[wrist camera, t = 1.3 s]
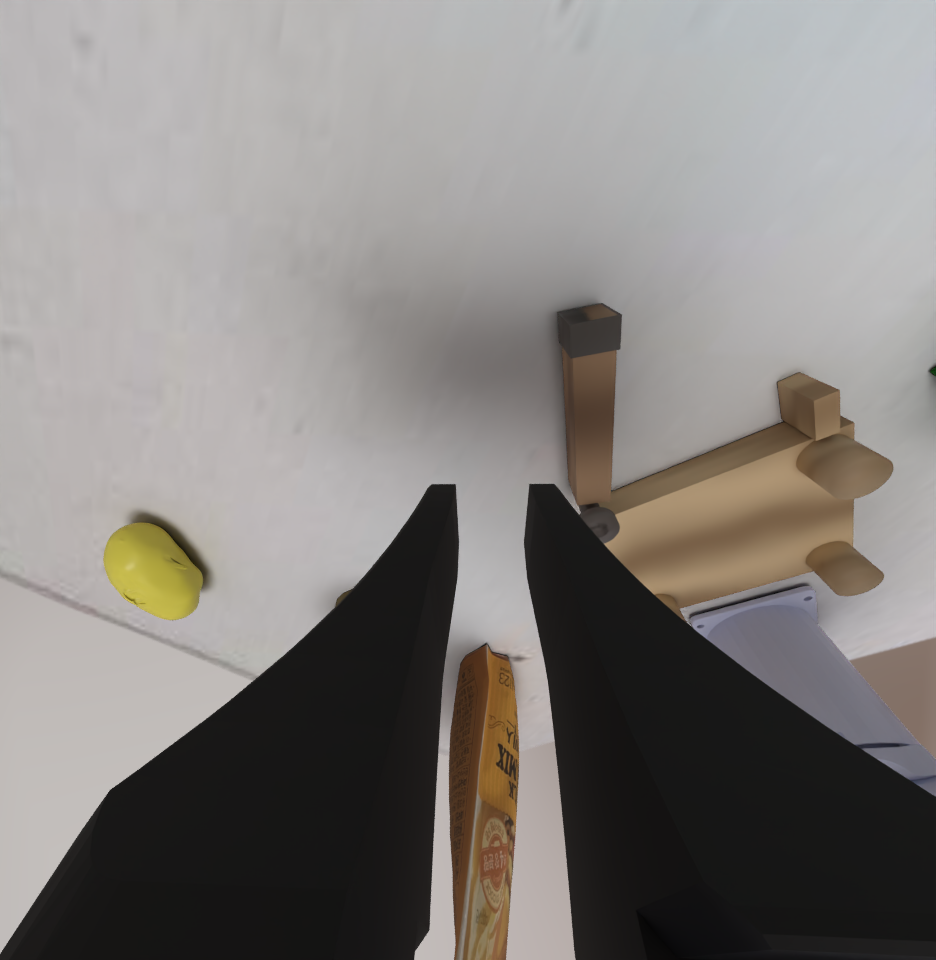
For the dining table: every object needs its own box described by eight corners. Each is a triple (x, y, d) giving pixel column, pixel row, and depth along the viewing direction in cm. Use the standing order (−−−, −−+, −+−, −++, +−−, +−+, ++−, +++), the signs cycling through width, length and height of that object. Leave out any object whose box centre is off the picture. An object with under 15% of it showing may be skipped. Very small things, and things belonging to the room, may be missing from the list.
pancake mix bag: (456, 727, 40) (424, 1368, 18) (433, 634, 30) (274, 2011, 7) (514, 727, 40) (560, 1386, 17) (514, 633, 29) (637, 2107, 6)
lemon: (181, 512, 22) (132, 558, 19) (226, 591, 27) (192, 639, 24) (115, 509, 22) (55, 555, 19) (172, 588, 27) (131, 636, 24)
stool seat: (827, 538, 22) (884, 588, 19) (624, 599, 26) (644, 649, 23) (820, 363, 16) (902, 395, 13) (556, 479, 20) (570, 525, 17)
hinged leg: (599, 474, 19) (613, 502, 17) (566, 479, 19) (575, 507, 17) (602, 302, 14) (621, 314, 12) (557, 312, 15) (569, 325, 13)
